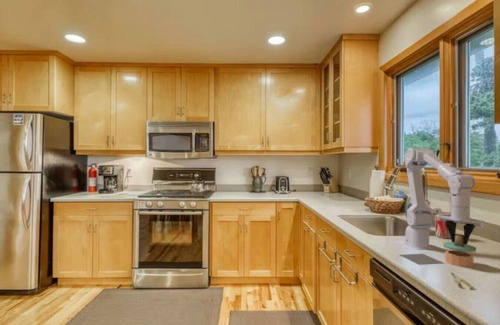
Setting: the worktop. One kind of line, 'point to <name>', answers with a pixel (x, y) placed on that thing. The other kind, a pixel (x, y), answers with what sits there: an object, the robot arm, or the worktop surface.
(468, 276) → the worktop surface
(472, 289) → the tongs
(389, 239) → the worktop surface
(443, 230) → the soda can
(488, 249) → the worktop surface
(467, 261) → the bowl
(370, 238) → the worktop surface
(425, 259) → the mat
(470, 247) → the lid
